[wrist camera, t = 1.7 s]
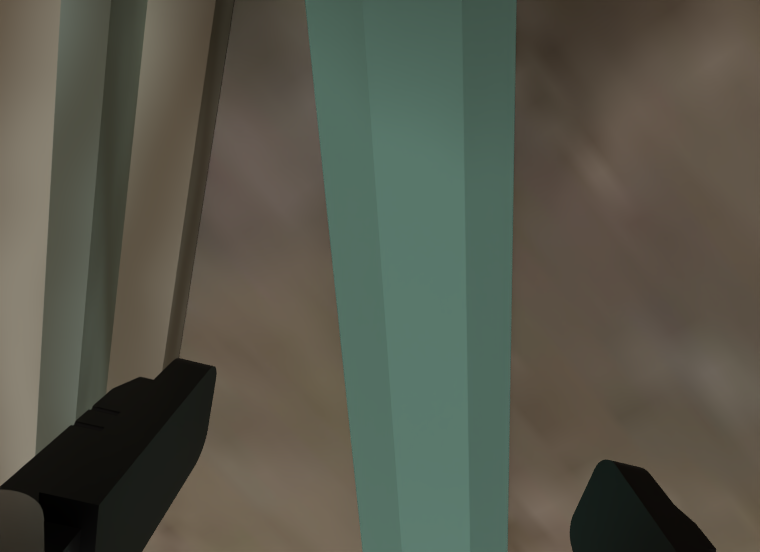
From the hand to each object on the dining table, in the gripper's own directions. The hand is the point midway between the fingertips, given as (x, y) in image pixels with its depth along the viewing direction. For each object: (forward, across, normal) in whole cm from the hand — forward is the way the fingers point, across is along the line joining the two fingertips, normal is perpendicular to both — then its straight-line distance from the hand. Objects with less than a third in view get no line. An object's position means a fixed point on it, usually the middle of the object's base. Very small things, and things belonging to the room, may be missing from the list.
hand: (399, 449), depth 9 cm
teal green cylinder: (+7, -1, 0) cm, 7 cm away
